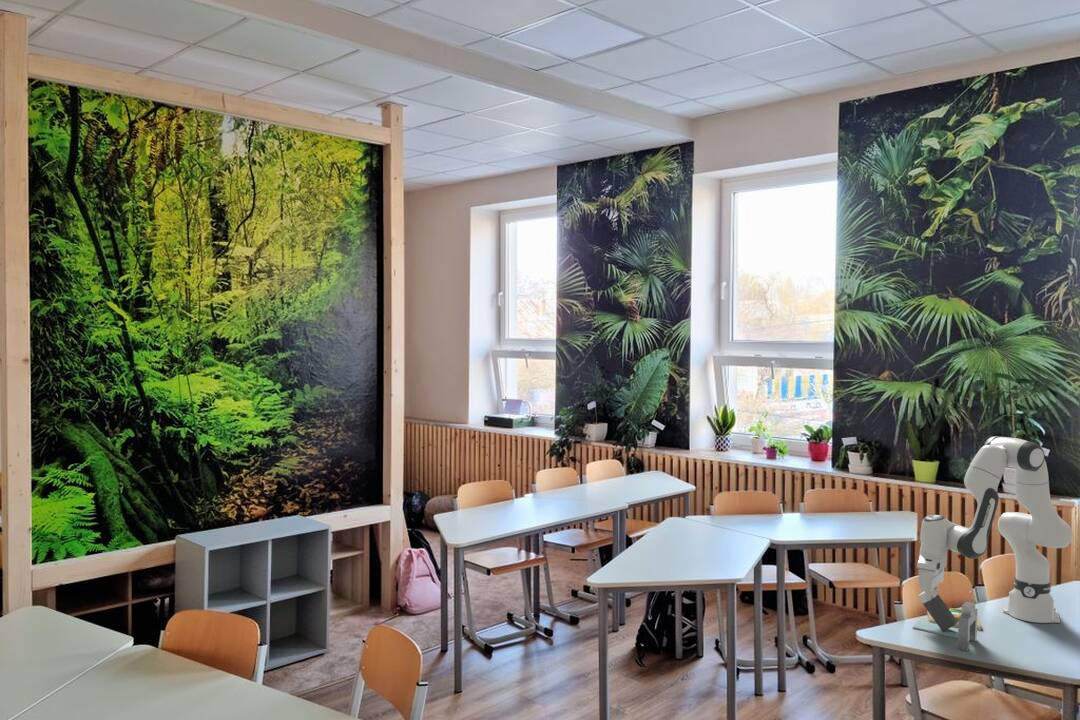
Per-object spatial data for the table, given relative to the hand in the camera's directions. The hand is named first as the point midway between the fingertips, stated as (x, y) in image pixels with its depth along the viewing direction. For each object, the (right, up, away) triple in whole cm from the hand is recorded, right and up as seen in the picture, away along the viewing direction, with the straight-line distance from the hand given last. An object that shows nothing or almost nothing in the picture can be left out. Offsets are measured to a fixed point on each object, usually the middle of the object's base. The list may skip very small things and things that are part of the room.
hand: (931, 598), depth 308 cm
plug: (0, -5, 0) cm, 5 cm away
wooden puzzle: (+13, -12, +10) cm, 21 cm away
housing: (+5, -12, -15) cm, 20 cm away
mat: (+3, -11, -2) cm, 12 cm away
